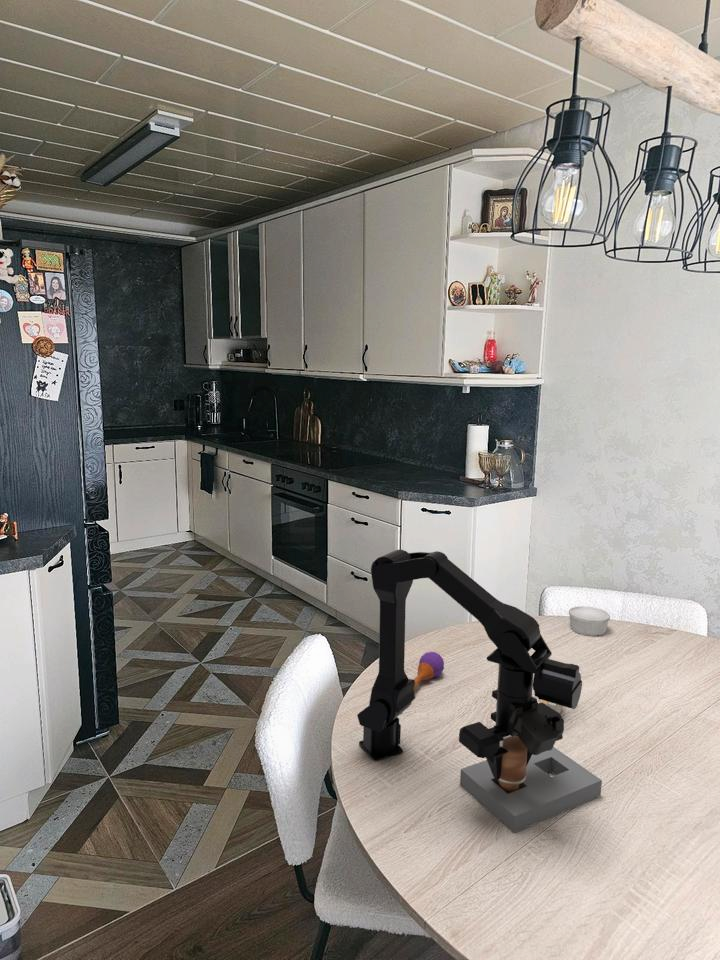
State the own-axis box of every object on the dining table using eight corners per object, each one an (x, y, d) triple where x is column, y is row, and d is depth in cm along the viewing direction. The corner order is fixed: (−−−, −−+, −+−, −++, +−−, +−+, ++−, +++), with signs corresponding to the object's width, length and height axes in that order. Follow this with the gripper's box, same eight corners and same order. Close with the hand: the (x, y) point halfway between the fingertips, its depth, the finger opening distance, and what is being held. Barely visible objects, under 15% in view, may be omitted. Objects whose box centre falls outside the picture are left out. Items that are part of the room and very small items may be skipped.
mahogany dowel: (506, 803, 110) (510, 755, 108) (485, 785, 115) (488, 739, 113) (531, 793, 113) (534, 747, 111) (509, 776, 117) (512, 731, 116)
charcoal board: (513, 832, 105) (514, 816, 105) (460, 784, 118) (460, 768, 117) (600, 795, 115) (601, 780, 115) (542, 754, 127) (543, 739, 127)
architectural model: (539, 719, 141) (541, 686, 139) (547, 705, 147) (549, 674, 145) (555, 723, 139) (558, 691, 138) (562, 709, 145) (565, 677, 144)
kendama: (385, 686, 145) (423, 646, 162) (390, 710, 146) (427, 669, 163) (409, 688, 142) (445, 648, 159) (413, 713, 143) (449, 671, 160)
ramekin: (581, 619, 196) (582, 602, 195) (616, 631, 187) (617, 613, 187) (559, 628, 189) (561, 611, 188) (595, 641, 180) (596, 623, 179)
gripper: (504, 726, 99) (498, 819, 102) (591, 698, 108) (584, 784, 111) (459, 694, 109) (454, 779, 111) (542, 670, 117) (536, 750, 120)
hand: (509, 773), depth 113 cm, fingers closed on mahogany dowel, 5 cm apart
